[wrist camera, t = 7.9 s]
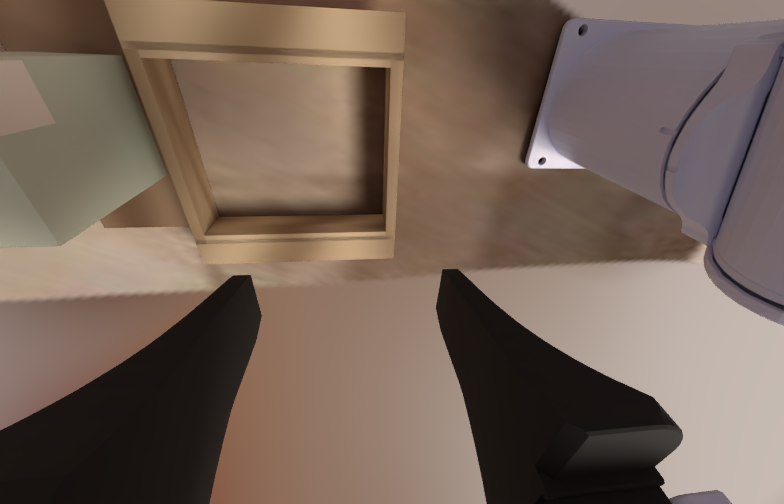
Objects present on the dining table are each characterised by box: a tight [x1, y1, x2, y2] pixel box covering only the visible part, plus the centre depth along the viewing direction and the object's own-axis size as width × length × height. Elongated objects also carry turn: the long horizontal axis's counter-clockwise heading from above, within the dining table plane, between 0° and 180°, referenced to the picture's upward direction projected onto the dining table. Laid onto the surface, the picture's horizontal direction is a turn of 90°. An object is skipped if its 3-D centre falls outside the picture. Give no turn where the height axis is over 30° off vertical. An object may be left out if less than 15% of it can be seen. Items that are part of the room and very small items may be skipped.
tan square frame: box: [104, 0, 406, 264], centre depth 17 cm, size 12×13×2 cm
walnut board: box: [0, 0, 189, 228], centre depth 16 cm, size 6×12×1 cm, turn 177°
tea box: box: [0, 51, 167, 248], centre depth 13 cm, size 4×6×8 cm
